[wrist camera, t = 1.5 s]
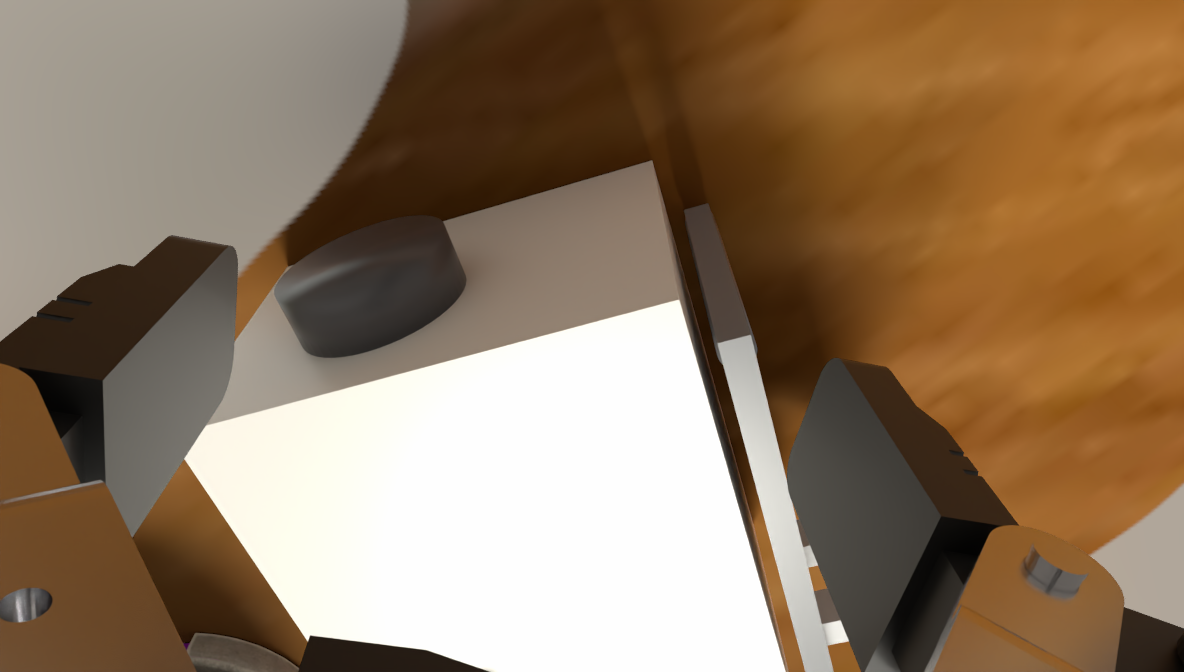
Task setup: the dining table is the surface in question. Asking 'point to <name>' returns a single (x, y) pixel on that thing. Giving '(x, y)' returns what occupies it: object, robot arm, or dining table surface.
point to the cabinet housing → (496, 444)
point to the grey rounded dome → (233, 655)
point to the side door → (762, 443)
